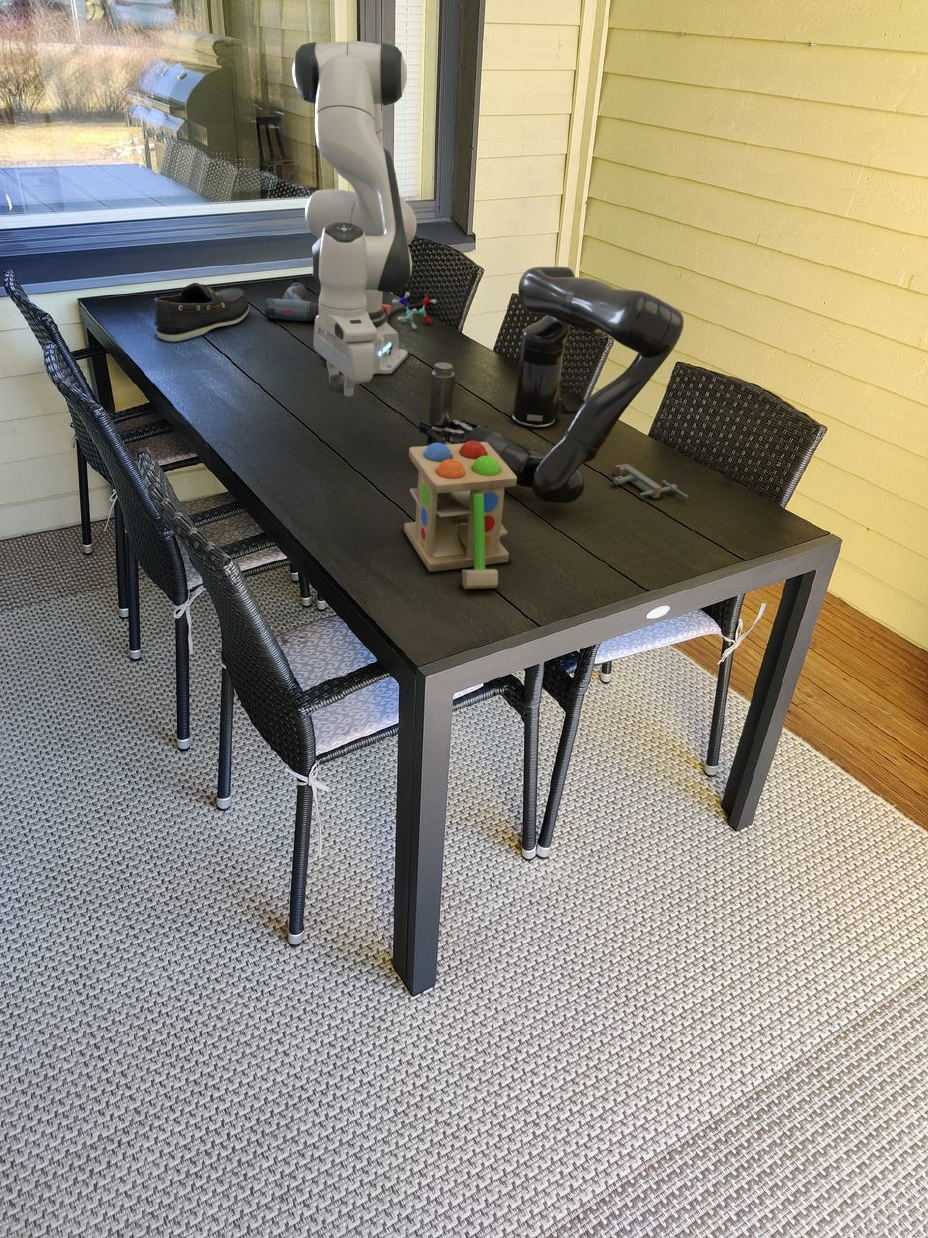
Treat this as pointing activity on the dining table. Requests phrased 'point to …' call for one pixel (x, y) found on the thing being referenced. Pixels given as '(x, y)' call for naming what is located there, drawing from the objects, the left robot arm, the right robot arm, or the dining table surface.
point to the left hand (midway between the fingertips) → (341, 389)
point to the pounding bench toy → (460, 509)
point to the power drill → (292, 305)
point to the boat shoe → (198, 311)
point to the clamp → (624, 475)
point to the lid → (336, 383)
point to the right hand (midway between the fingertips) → (429, 423)
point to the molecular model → (414, 310)
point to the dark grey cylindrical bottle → (441, 396)
